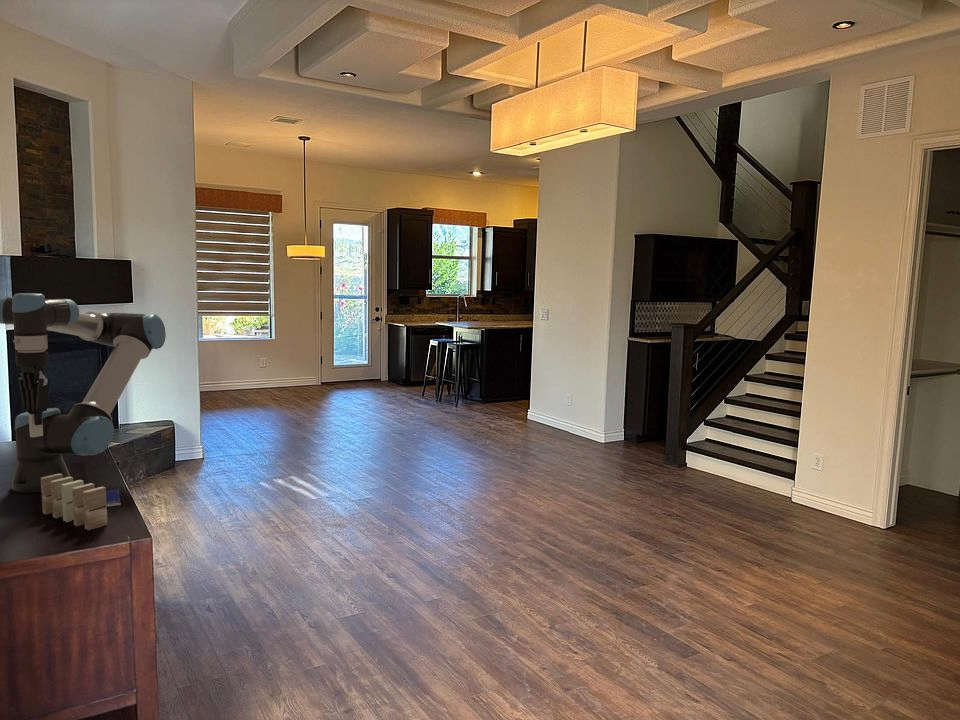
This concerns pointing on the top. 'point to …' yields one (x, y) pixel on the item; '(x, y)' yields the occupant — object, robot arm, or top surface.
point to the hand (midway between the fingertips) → (36, 436)
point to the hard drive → (112, 498)
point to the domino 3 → (69, 499)
